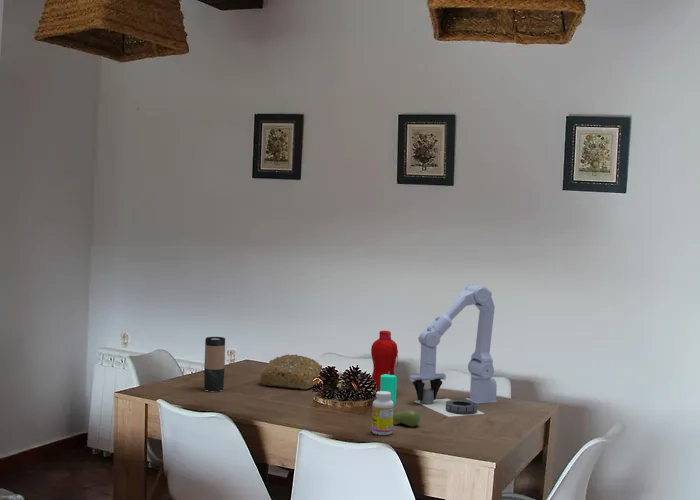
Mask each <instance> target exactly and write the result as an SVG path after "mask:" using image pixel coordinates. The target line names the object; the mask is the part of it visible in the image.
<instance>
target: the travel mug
mask: <svg viewBox="0 0 700 500" xmlns="http://www.w3.org/2000/svg"><path fill="white" fill-rule="evenodd" d="M204 341H205V342H204V343H205V345H204V365H203V367H204V372H203V374H204V377H203V379H204V386H203V387H204V389H205V390H208V391H220V390H223V391H224V388H225V387H224V386H225V385H224V384H225V383H224V382H225V371H226V370H225V365H226V362H225V361H226V338H225V337H224V336H208V337H206V338H205V340H204ZM205 390H204V391H205Z"/></svg>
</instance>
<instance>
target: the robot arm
mask: <svg viewBox="0 0 700 500" xmlns="http://www.w3.org/2000/svg"><path fill="white" fill-rule="evenodd" d="M492 294H493V293H492V291H490V290H489V289H488V288H487V287H486V286H482V285H481V286H480V285H476V284H473V283H472V284H470V283H469V284H467V285H466V286H465V287H464V289H462V290H461V291H460V293H459V296H458V297H457V298H456V299H455V301H454V302H453V303H452V305H450V307H449V308H448V309H447V311H446V312H445V313H444V314H439V315H436V316H435V317H434V319H435V320H434V321H433V322H432V323H431V324H429V326H428V325H427V327H426V329H425V330H422V331H421V333H420V334H419V336H418V337H417V338H418V342H419V344H420V359H419V360H420V361H419V362H420V365H419V366H420V367H419V373H418V374H412V375H408V381H409V382H412V385H413V387H414V389H415V391H416V396H417V401H422V399H423V389H424V388H425V383H424V381H429V382H430V389H433V390H434V400H436V399H437V396H438V392H439V390H440V388H441V387H442V385H443V381H445V380H446V378H447V375H446V374H445V373H436V372H437V369H436V368H437V367H436V366H437V346H438V345H440V342H441V338H442V337H443V335H444V334H445V333H446V332H447V331H448V330H449V329H450V327H452V321H453V320H454V319H455V318H456V317H457V316H458V315H459V313H461V312H462V311H463V310H464V309H465V308H466V307H469V306H475V307H476V308H477V310H479V313H478V323H477V329H476V330H477V333H476V338H475V339H476V340H475V349H474V350H475V351H473V353H472V354H471V355H470V356H471V357H470V360H469V362H468V363H467V364H468V365H467V370H468V372H469V373H470V387H469V388H470V389H469V390H470V391H469V397H466V398H464V400H466V401H472V402H475V403H477V404H488V403H498V400H497V389H498V388H497V386H498V385H497V381H496V379H495V378H494V377H492V376H493V375H494V372H495V367H494V364H493V363H494V360H493V357H492V355H491V352H490V351H491V343H492V334H493V325H494V315H495V304H494V300H493V298H492Z"/></svg>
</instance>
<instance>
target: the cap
mask: <svg viewBox="0 0 700 500" xmlns="http://www.w3.org/2000/svg"><path fill="white" fill-rule="evenodd" d="M433 400H434V390H433V389H431V387H429V388H428V387H424V389H423V399H422V401H420V400H419V401H420V403H421V404H425V405H431V404H433ZM421 404H420V405H421Z"/></svg>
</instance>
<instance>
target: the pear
mask: <svg viewBox="0 0 700 500" xmlns="http://www.w3.org/2000/svg"><path fill="white" fill-rule="evenodd" d="M420 421H421V415H420V414H419V412H418V411H416V410H413V409H409V410H402V411H397V412H395V413H393V426H394V425H395V426H396V425H399V424H404V425H405V426H408V427H410V428H412V427H413V428H414V427H416V426H418V425H419V424H420Z"/></svg>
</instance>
